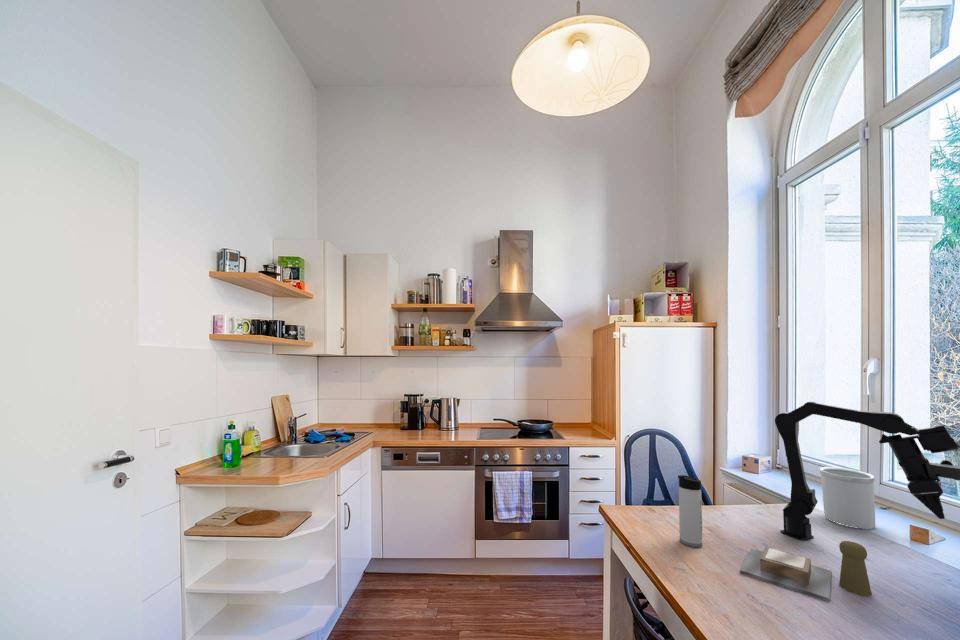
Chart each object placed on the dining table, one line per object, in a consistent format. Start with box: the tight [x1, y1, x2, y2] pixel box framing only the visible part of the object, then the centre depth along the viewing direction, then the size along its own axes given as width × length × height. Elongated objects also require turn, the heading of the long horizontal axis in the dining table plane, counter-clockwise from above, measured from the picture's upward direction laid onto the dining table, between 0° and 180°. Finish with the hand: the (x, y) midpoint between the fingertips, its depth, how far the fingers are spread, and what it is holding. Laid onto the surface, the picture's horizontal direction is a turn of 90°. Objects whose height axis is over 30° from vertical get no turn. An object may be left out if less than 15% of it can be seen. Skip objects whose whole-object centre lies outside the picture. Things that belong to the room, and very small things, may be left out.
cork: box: [838, 540, 873, 597], centre depth 102 cm, size 6×6×11 cm
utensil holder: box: [819, 466, 876, 530], centre depth 148 cm, size 15×15×18 cm
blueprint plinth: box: [739, 546, 832, 603], centre depth 109 cm, size 18×18×4 cm
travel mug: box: [677, 474, 703, 548], centre depth 126 cm, size 6×7×20 cm
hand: (941, 514), depth 112 cm, fingers open, 9 cm apart
